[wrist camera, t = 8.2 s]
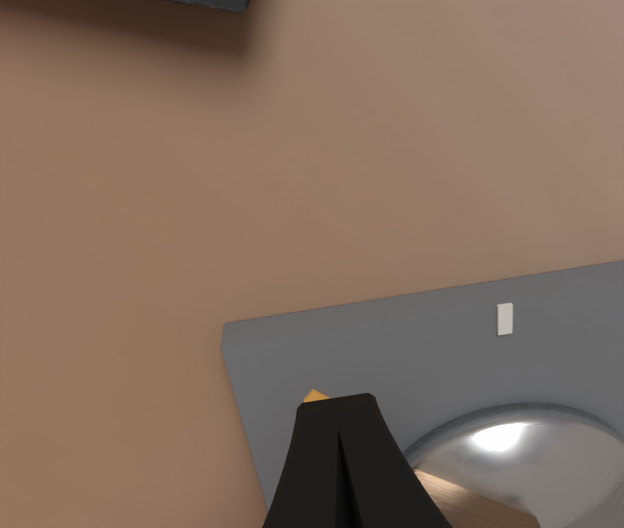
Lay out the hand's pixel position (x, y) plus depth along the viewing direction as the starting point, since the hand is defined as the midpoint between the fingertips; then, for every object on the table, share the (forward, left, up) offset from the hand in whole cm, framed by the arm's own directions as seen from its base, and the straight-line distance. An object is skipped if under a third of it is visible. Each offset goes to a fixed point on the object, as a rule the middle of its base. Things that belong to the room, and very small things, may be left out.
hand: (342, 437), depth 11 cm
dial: (-5, +13, -9) cm, 16 cm away
